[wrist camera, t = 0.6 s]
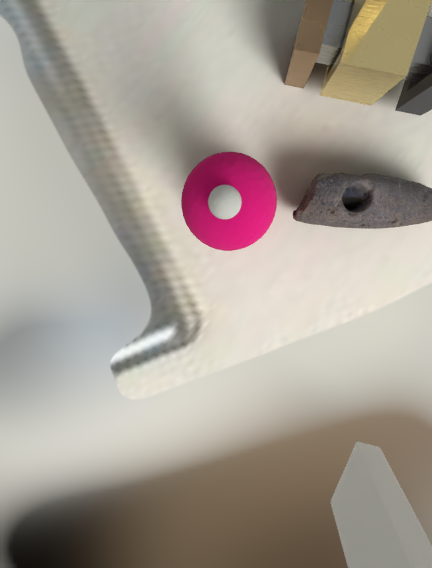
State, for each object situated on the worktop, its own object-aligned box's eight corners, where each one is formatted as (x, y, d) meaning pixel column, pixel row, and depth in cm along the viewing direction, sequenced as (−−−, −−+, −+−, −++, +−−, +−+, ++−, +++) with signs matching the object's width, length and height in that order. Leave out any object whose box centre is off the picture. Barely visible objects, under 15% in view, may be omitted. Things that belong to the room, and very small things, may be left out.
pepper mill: (227, 159, 33) (197, 90, 14) (281, 194, 33) (328, 174, 14) (195, 216, 35) (129, 226, 16) (247, 248, 35) (245, 297, 16)
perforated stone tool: (436, 184, 31) (486, 178, 25) (422, 234, 33) (467, 240, 26) (293, 172, 33) (305, 163, 26) (286, 221, 34) (295, 224, 27)
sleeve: (319, 95, 29) (359, 32, 18) (341, 14, 27) (398, -105, 17) (371, 105, 28) (440, 47, 18) (396, 24, 27) (489, -90, 16)
